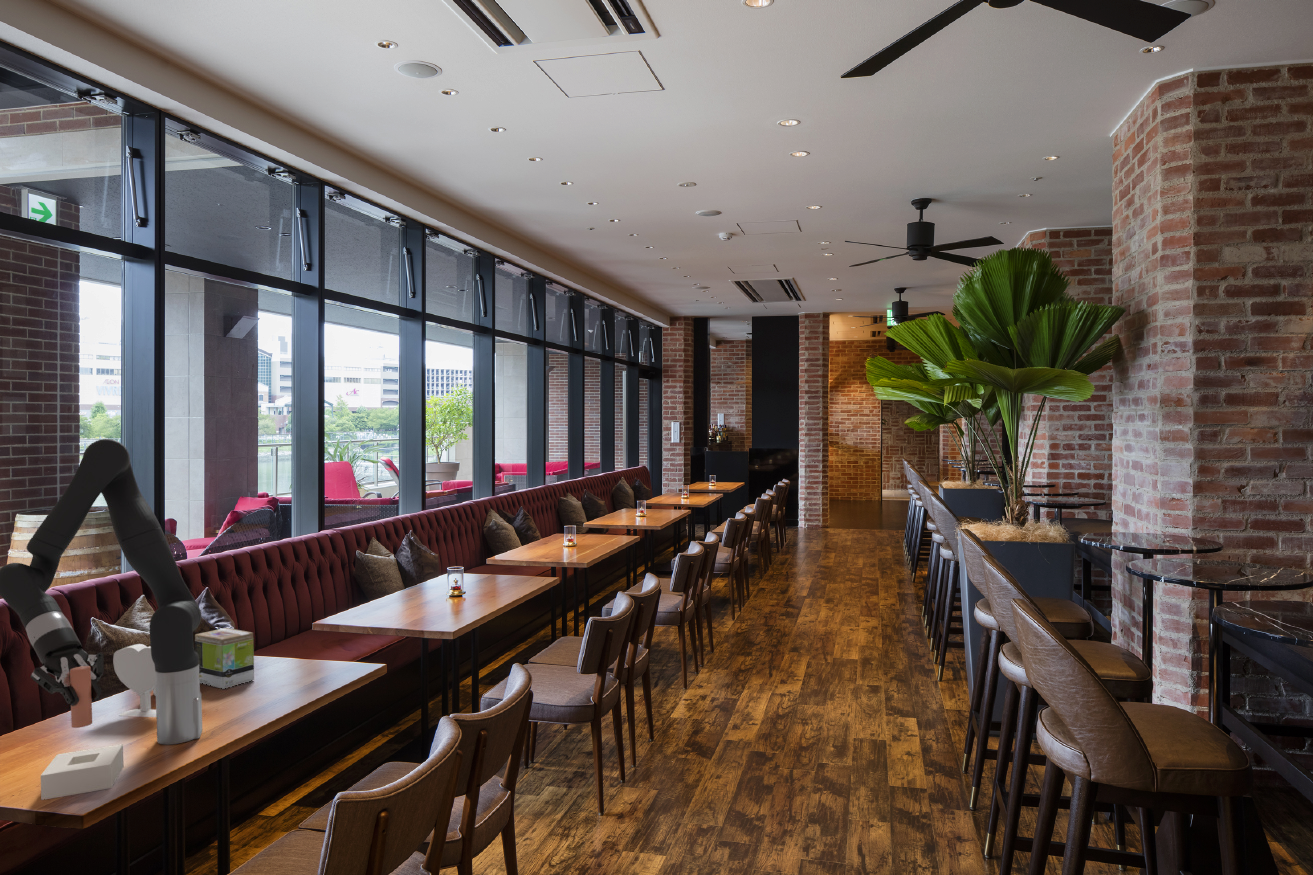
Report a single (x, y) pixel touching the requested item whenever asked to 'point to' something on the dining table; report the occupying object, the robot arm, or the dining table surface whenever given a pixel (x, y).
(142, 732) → the dining table surface
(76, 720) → the pin
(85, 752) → the block
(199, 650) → the tea box
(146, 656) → the heart sculpture
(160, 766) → the dining table surface
